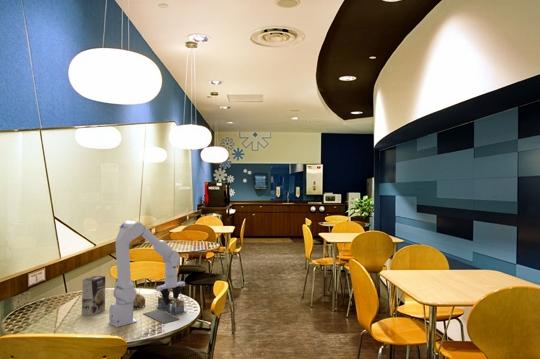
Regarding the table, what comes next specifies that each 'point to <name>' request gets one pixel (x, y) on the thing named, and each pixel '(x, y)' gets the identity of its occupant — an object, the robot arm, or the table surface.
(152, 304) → the table surface
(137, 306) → the bread roll
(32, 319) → the table surface
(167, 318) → the mat
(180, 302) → the rail
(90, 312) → the coffee box
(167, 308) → the stand
